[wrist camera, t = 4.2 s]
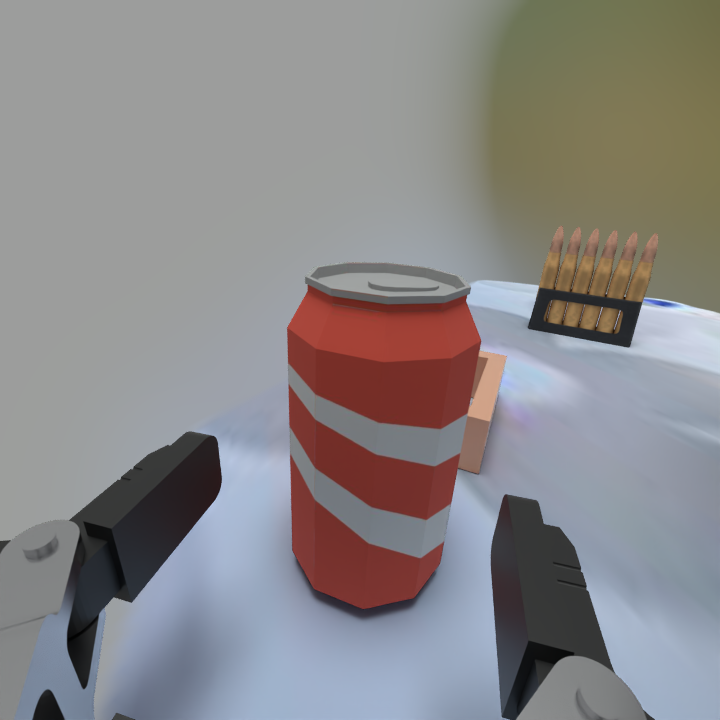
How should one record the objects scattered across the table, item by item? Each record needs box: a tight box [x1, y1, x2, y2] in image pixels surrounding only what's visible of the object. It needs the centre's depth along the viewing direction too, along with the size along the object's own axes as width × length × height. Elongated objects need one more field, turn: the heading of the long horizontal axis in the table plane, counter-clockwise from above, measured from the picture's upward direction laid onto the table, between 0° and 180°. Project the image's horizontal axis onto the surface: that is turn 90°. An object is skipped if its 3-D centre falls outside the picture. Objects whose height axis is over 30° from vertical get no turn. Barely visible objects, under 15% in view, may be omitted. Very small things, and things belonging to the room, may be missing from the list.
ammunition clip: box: [528, 226, 658, 348], centre depth 44 cm, size 11×2×12 cm, turn 61°
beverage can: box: [287, 262, 481, 609], centre depth 15 cm, size 6×6×12 cm
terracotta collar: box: [458, 351, 507, 474], centre depth 28 cm, size 10×10×4 cm
